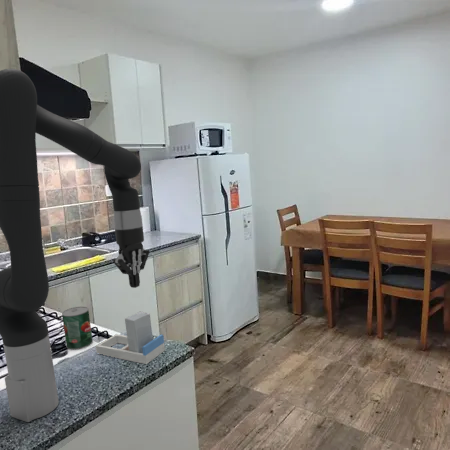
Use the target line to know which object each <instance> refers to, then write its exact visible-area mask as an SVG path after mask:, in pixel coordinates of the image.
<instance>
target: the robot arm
mask: <svg viewBox="0 0 450 450" xmlns="http://www.w3.org/2000/svg"><path fill="white" fill-rule="evenodd" d="M34 84H35V83H34V82H33V81H32V80H31V78H30V77H29V75H28V74H26V73H25V72H23V71H22V70H20V69H17V68H5V69H1V70H0V230H1V233H2V235H4V236H3V237H4V238H5V241H6V243H7V245H8V250H9V256H10V257H9V258H10V267H7V268H3V269H2V270H0V337H1V339H2V344H3V351H4V356H5V362H6V369H7V375H6V376H5V378H4V383H5V384H4V385H5V390H6V396H7V401H8V406H9V407H8V408H9V412H10V417H11V418H15V419H17V420H19V421H22V422H25V423H30V422H31V421H33V420H37V419H40V418H42V417H45V416H47V415H49V414H50V413H52V412H53V411H54V410H55V409H56V408H57V407H58V405H59V402H60V401H59V396H58V395H59V394H58V387H57V382H56V375H55V368H54V362H53V355H52V348H51V341H50V335H49V328H48V327H49V326H48V323H47V322H46V320H45V319H44V318H43V317H42V316H41V315H40V314H39V313H38V312H37V311H38V310H40V309H42V307H43V306H44V305H45V302H46V301H47V299H48V295H49V291H50V290H49V289H50V284H49V276H48V269H47V264H46V259H45V257H46V256H45V253H44V245H43V244H44V243H43V235H42V234H43V233H42V222H41V221H42V219H41V199H40V197H41V196H40V183H39V172H38V156H37V146H36V145H37V143H36V140H37V139H36V138H37V137H36V134H38V135H40V136H42V137H44V138H46V139H48V140H50V141H51V142H53V143H55V144H57V145H59V146H61V147H63V148H65V149H66V150H69V151H70V152H71V153H73V154H75V155H77V156H78V157H80V158H82V159H84V160H85V161H87V162H88V163H91V164H93V165H99V166H103V171H104V176H105V181H106V183H107V185H108V189H109V191H110V193H111V197H112V204H113V224H114V233H115V242H116V245H117V246H118V247H119V248H118V256H117V258H113V259H112V262H113V264H114V265H115V266H116V267H117V268H118V270H119V271H120V273H121V274H122V275H127V276H128V284H129V286H130V287H131V288H132V289H134V288H138V287H140V285H141V284H140V283H141V279H140V274H141V271H142V270H144V269H145V267H146V263H147V261H148V257H149V254H150V250H148V249H145V248H144V245H143V242H144V241H145V236H144V228H143V227H144V226H143V215H142V212H141V206H140V197H139V191H138V189H136V188H134V187H132V186H131V184H130V180H129V179H134V178H136V177H137V176H138V175H140V173H141V170H142V164H141V161H140V159H139V157H138V156H137V155H136V154H135V153H134V152H132V151H131V150H129V149H127V148H124V147H122V146H120V145H118V144H115V143H113V142H111V141H107V140H106V139H105V138H103V137H102V136H101V135H99V134H97V133H96V132H95V131H93V130H92V129H90V128H88V127H87V126H84V125H82V124H80V123H78V122H77V121H76V122H75V121H73V120H71V119H67V118H65V117H62V116H60V115H57V114H56V113H53V112H52V111H49V110H47V109H46V108H44V107H42V106H40V105H39V104H38V94H37V90H36V89H37V88H36V87H35V86H36V85H34Z"/></svg>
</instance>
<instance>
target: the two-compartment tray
mask: <svg viewBox="0 0 450 450" xmlns="http://www.w3.org/2000/svg"><path fill="white" fill-rule="evenodd" d="M164 339H165V338H164V334H160V335H157V337H155V338H153V340H152V341H151V342H149V343H148V344H146V345H145V346H143V347H142V349H143V353H137V352H132V351H129V347H128V339H127V335H123V334H117V333H116V334H114V335H112V336H111V337H109V338H107V339H105V340H104V341H102V342H100V343H98V344H97V345H95V348H96V349H95V350H96V354H97V353H99V354H98V355H100V354H103V355H102V356H105V355H107V356H106V357H109V356H111V357H110V358H114V357H115V359H119V360H125V361H129V362H134V363H138V364H144V365H148V363H150V362H152V361H153V360H154V359H156V358H157V357H159V356H160V355H161V354H162V353H164V352H165V351H166V348H165V340H164ZM116 344H121V345H125V346H123V347H122V348H116V347H113V346H115V345H116ZM111 346H112V347H111Z"/></svg>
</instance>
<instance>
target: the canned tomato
mask: <svg viewBox="0 0 450 450" xmlns="http://www.w3.org/2000/svg"><path fill="white" fill-rule="evenodd" d="M61 316H62V317H61V318H62V323H63V329H64V337H65V338H64V339H65V345H66V346H67V347H66V349H68V350H71V351H72V350H73V351H76V350H82V349H86V348H87V347H89V346H91V345H92V344H93V342H94V341H93V335H92V334H93V333H92V326H91V320H90V319H91V318H90V311H89V307H88V306H82V305H81V306H75V307H70V308H67V309H65V310H63V311H62V312H61Z"/></svg>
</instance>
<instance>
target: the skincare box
mask: <svg viewBox="0 0 450 450" xmlns="http://www.w3.org/2000/svg"><path fill="white" fill-rule="evenodd" d="M151 321H152V320H151V313H148V312H143V311H138V312H136V313H134V314H131V315H130V316H127V317H124V324H125V331H126V336H127V339H128V347H129V351H132V352H137V353H143V349H142V347H143V346H145V345H146V344H148V343H149V342H151V341H152V340H153V339H154V338H153V330H152V323H151Z"/></svg>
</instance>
